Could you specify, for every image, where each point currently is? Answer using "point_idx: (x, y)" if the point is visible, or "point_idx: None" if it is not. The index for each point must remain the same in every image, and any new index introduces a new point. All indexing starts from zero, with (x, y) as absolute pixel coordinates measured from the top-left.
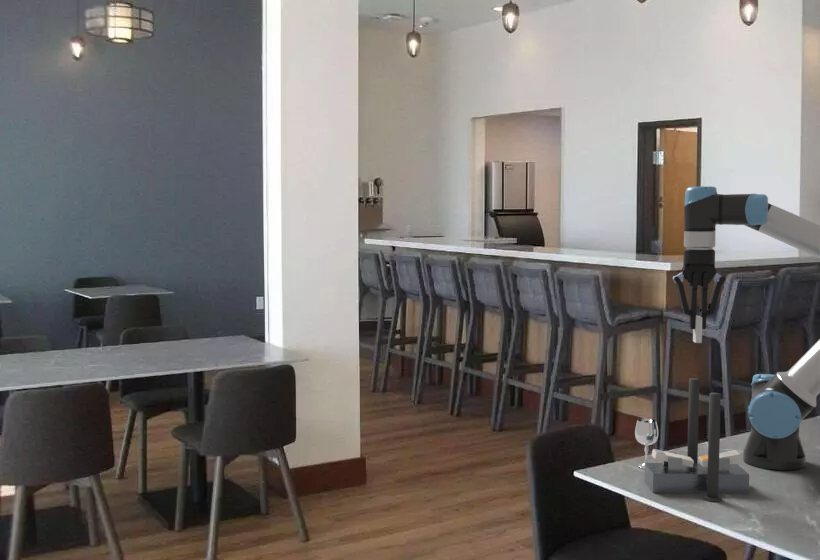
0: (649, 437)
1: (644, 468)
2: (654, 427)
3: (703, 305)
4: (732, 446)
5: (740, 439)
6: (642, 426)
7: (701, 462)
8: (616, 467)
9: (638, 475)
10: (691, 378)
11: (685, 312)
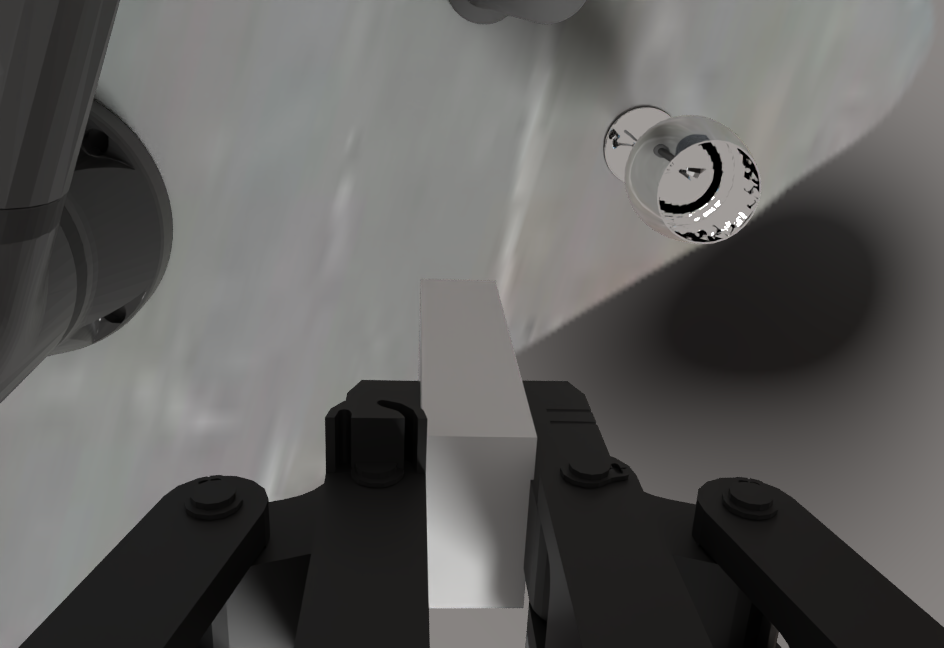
0: (691, 115)
1: (662, 111)
2: (675, 136)
3: (397, 591)
4: (164, 462)
5: None
6: (742, 142)
7: None
8: (777, 135)
9: (723, 4)
10: (562, 8)
11: (771, 493)
